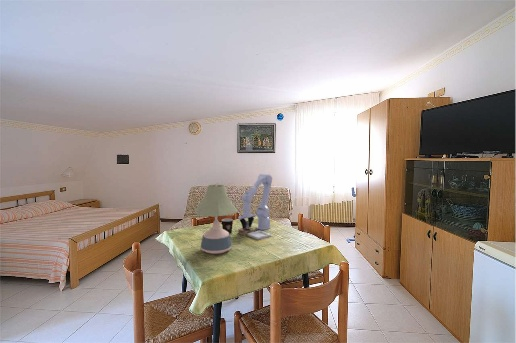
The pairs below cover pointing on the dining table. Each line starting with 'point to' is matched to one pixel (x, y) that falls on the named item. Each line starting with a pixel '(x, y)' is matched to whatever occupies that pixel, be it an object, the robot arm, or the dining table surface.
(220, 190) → the desk lamp
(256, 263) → the dining table surface
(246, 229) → the pin
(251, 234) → the tray
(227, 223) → the coffee mug
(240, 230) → the hitch block
